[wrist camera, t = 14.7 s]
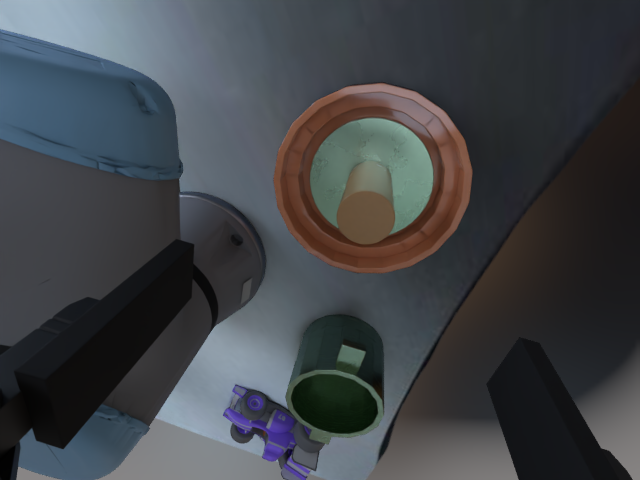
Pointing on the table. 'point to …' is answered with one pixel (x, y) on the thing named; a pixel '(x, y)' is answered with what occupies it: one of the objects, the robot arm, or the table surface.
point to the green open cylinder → (338, 379)
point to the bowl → (413, 239)
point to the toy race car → (274, 433)
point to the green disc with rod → (371, 178)
